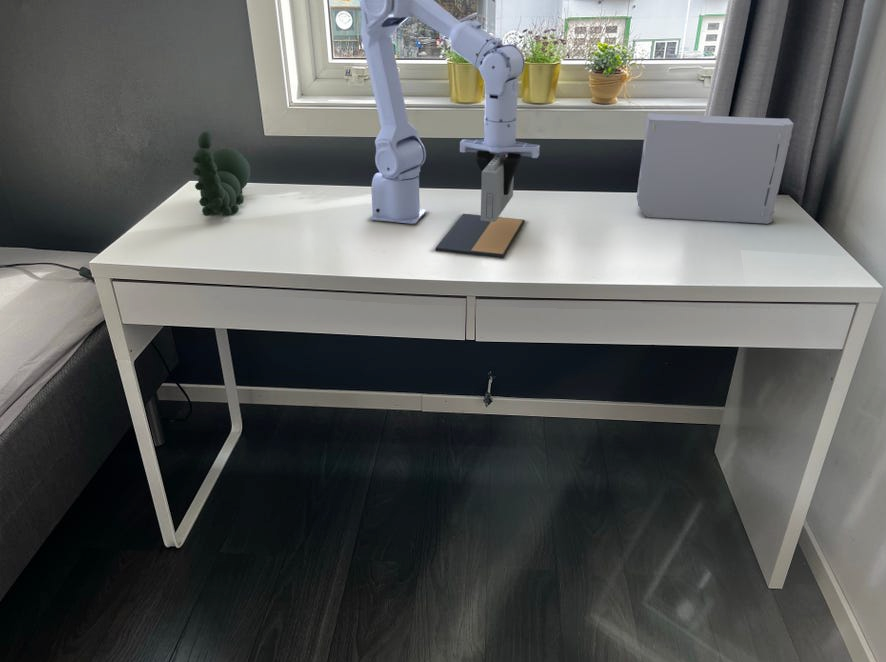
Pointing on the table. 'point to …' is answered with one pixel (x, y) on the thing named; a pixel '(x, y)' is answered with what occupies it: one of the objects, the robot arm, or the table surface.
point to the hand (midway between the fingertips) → (497, 192)
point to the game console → (712, 167)
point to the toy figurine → (220, 177)
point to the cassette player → (494, 189)
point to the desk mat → (481, 236)
